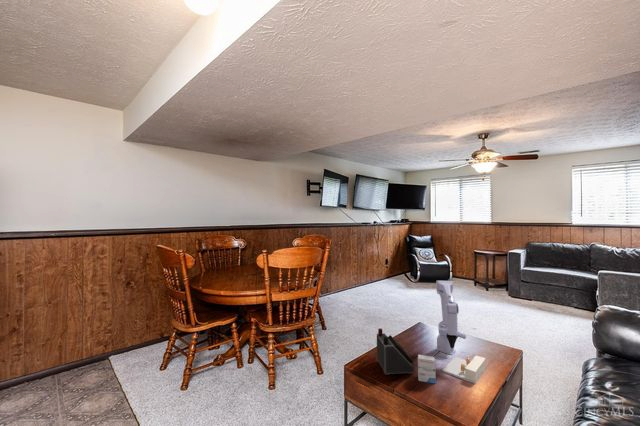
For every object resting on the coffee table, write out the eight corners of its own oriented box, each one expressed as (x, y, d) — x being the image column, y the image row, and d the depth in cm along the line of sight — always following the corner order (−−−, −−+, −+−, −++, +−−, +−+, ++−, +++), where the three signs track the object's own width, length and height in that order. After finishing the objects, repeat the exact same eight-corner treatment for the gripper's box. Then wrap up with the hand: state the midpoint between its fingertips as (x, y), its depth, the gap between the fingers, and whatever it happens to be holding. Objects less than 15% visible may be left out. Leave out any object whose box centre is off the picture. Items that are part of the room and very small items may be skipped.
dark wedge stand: (414, 375, 151) (414, 338, 152) (385, 376, 150) (384, 339, 151) (403, 360, 167) (403, 326, 168) (376, 361, 166) (376, 327, 167)
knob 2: (466, 365, 158) (466, 359, 158) (468, 363, 160) (468, 356, 160) (471, 367, 156) (471, 360, 156) (474, 365, 158) (473, 358, 158)
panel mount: (442, 371, 154) (442, 360, 155) (455, 358, 169) (455, 348, 169) (475, 384, 143) (475, 372, 143) (486, 368, 157) (486, 358, 157)
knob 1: (460, 372, 151) (460, 365, 151) (463, 369, 154) (463, 362, 154) (466, 374, 149) (466, 367, 149) (468, 371, 152) (468, 364, 152)
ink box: (435, 378, 148) (434, 356, 148) (435, 383, 143) (435, 360, 143) (418, 375, 151) (417, 353, 151) (418, 380, 146) (417, 358, 146)
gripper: (436, 322, 165) (437, 345, 165) (463, 329, 155) (463, 354, 155) (441, 319, 170) (441, 342, 170) (467, 326, 160) (467, 349, 160)
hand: (452, 347), depth 163 cm, fingers closed
